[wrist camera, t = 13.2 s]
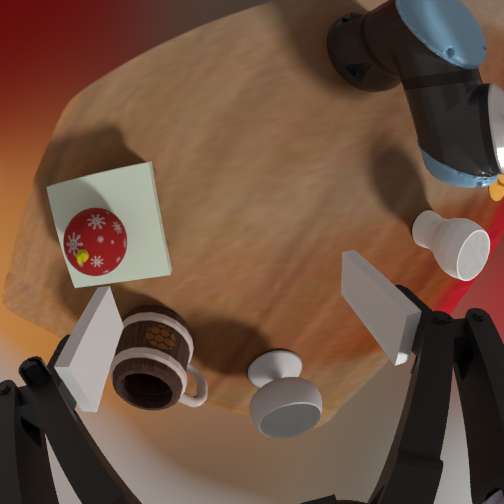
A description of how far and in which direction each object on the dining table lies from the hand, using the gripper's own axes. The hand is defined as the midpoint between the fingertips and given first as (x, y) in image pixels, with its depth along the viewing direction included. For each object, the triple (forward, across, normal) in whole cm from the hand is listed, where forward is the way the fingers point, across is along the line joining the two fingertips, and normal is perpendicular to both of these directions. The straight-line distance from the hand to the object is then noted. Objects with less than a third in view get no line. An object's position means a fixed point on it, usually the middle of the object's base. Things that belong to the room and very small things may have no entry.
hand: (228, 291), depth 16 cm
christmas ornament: (+25, -16, -2) cm, 30 cm away
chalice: (+33, +7, -40) cm, 52 cm away
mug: (+33, -14, -28) cm, 45 cm away
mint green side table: (+33, -16, -2) cm, 36 cm away
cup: (+33, +41, -12) cm, 54 cm away
